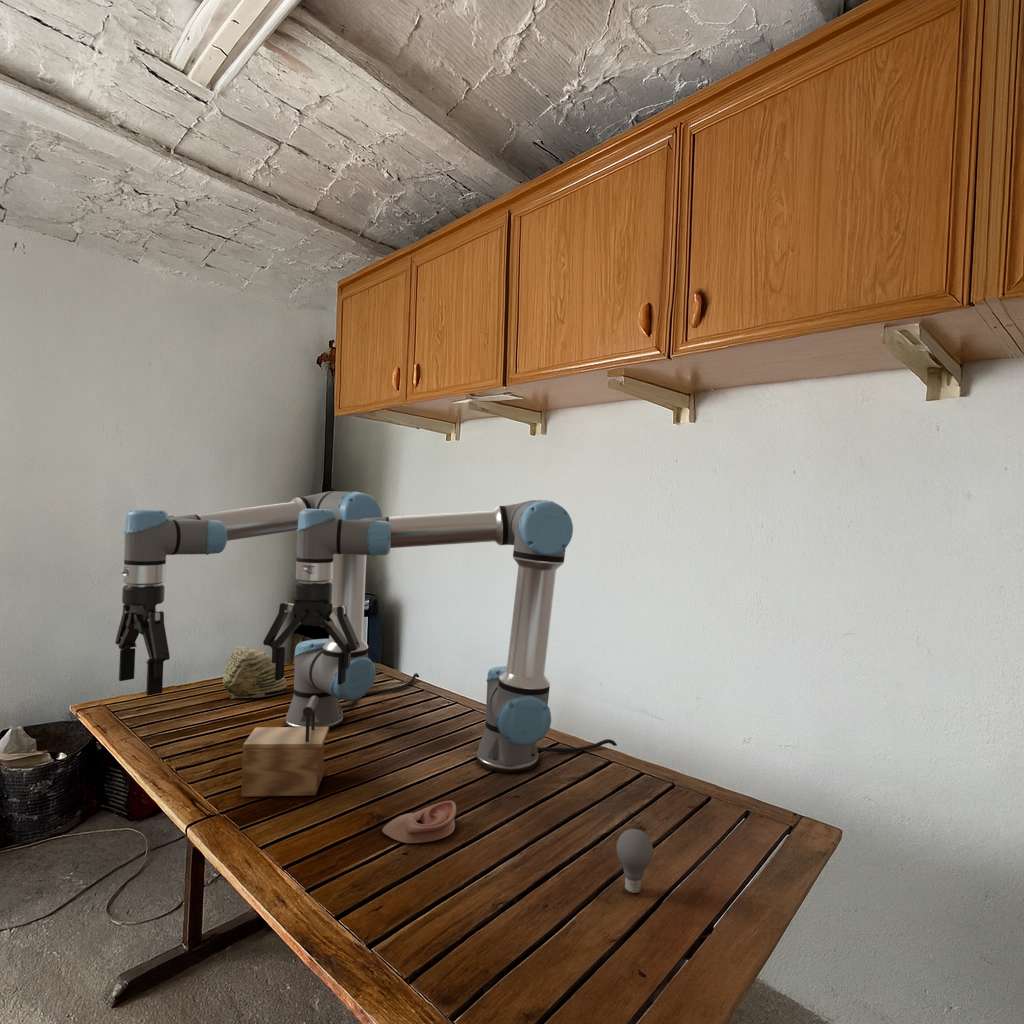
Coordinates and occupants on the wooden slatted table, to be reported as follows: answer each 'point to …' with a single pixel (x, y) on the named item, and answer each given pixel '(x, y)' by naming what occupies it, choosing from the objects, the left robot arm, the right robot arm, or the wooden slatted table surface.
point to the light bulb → (634, 857)
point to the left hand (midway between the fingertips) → (139, 686)
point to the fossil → (251, 674)
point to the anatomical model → (423, 824)
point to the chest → (281, 771)
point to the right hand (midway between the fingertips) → (310, 680)
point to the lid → (290, 733)
